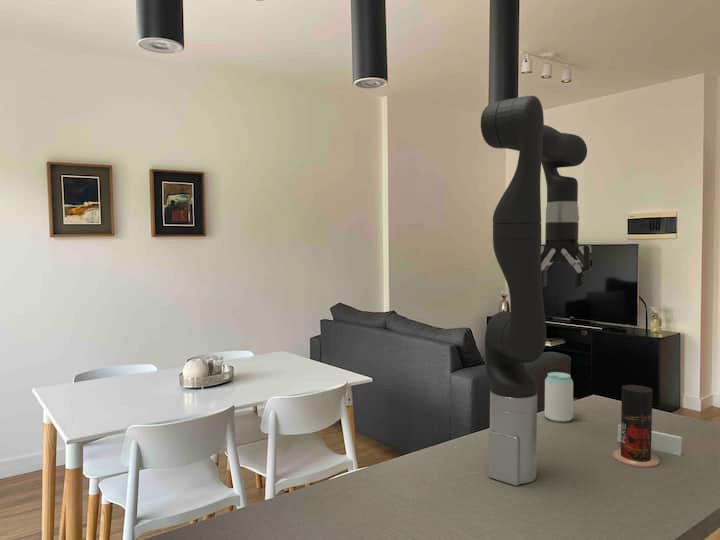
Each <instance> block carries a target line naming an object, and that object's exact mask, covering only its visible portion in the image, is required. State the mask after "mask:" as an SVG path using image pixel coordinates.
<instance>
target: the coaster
mask: <svg viewBox="0 0 720 540" xmlns="http://www.w3.org/2000/svg"><path fill="white" fill-rule="evenodd" d="M612 456H613V459H614V460H615V461H617V460H618V461H617V462H619V463H621V462H622V463H621V464H623V463H624V465H626V464H628V465H627V466H630V465H631V466H630V467H634V466H636V467H635V468H642V467H648V468H647V469H649V468H655V467H658V466H659V465H660V458H659V457H658V456H657V455H655V454H653V453H652V452H651V460H650V461H647V462H637V461H631V460H628V459H625V458H624V457H622V456H621V448H618V449H616V450H614V451H613V452H612Z"/></svg>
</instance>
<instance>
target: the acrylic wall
mask: <svg viewBox="0 0 720 540" xmlns="http://www.w3.org/2000/svg"><path fill="white" fill-rule="evenodd" d="M682 439H683V437H682V436H678V435H674V434H673V435H672V434H669V433H663V432H659V431H653V430H652V433H651V451H652V450H653V451H657V452H661V453H664V454H665V453H666V454H669V455H675V456H678V457H681V456H682V447H683V446H682V444H683V443H682V442H683V441H682ZM620 442H621V423H620V424H617V443H620Z"/></svg>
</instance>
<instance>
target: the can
mask: <svg viewBox="0 0 720 540" xmlns="http://www.w3.org/2000/svg"><path fill="white" fill-rule="evenodd" d="M573 406H574V381H573V378H572V376H571V374H569V373H568V372H567V373H566V372H559V371H552V372H548V373H547V376H546V378H545V379H544V417H545V418H547V420H548V421H552V422H556V423H567V422H569V421H571V420H573V419H574V418H573V417H574V416H573V413H574V410H573V409H574V407H573Z"/></svg>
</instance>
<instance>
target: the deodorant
mask: <svg viewBox="0 0 720 540" xmlns="http://www.w3.org/2000/svg"><path fill="white" fill-rule="evenodd" d="M620 410H621V412H620V413H621V414H620V415H621V416H620V417H621V419H620V425H621V443H620V449H621V456H622V457H624V458H625V459H628V460H631V461H637V462H647V461H650V460H651V453H652V450H651V433H652V431H653V430H652V428H653V426H652V425H653V424H652V423H653V422H652V421H653V389H652V388H651V387H649V386H645V385H637V384H624V385H621V409H620Z"/></svg>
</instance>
